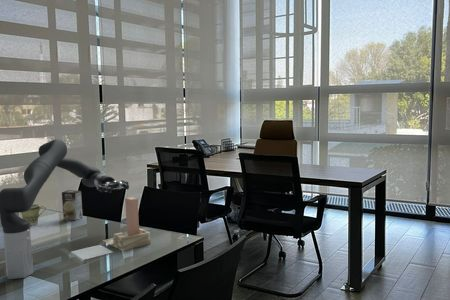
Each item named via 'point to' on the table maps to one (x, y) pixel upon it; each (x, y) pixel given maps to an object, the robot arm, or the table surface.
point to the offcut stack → (118, 239)
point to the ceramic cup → (32, 214)
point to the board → (132, 216)
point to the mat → (90, 252)
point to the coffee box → (72, 205)
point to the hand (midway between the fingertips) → (119, 188)
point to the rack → (132, 240)
